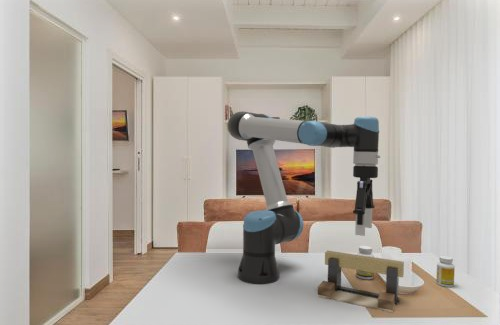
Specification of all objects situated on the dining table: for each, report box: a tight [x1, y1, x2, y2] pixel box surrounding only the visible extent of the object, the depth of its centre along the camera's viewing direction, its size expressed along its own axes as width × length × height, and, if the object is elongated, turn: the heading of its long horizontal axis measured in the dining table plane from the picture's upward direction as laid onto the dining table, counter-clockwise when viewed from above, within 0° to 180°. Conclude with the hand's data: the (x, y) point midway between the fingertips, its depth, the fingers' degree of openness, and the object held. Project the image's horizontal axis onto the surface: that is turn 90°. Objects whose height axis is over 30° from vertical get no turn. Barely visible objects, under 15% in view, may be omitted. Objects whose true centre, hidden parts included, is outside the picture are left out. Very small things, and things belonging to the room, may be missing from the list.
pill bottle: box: [355, 245, 375, 280], centre depth 126 cm, size 6×6×11 cm
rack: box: [327, 258, 400, 305], centre depth 110 cm, size 22×6×10 cm, turn 62°
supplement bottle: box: [435, 255, 456, 288], centre depth 120 cm, size 5×5×10 cm
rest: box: [316, 280, 396, 313], centre depth 105 cm, size 22×7×3 cm, turn 62°
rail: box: [324, 250, 405, 278], centre depth 110 cm, size 24×3×4 cm, turn 62°
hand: (363, 231), depth 110 cm, fingers open, 13 cm apart
